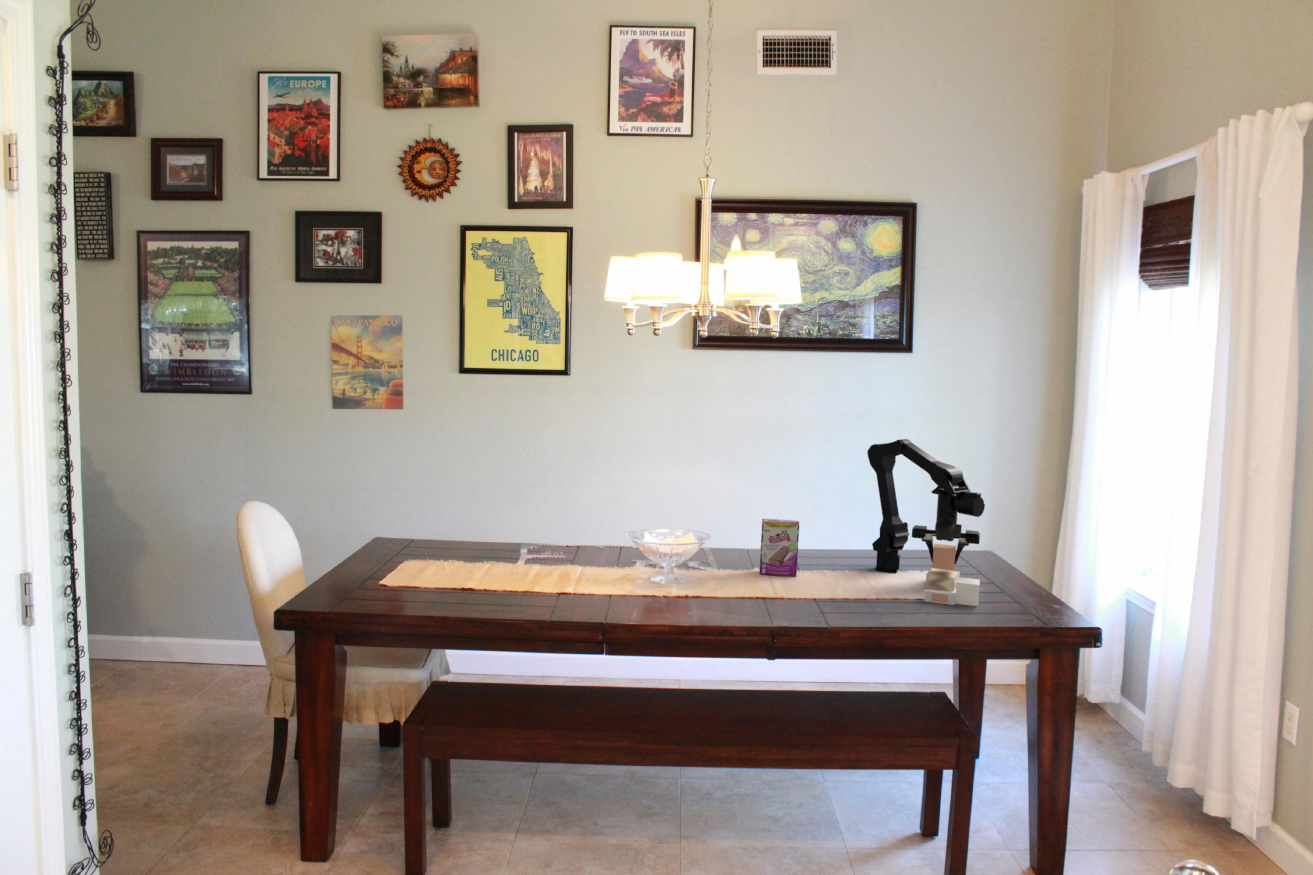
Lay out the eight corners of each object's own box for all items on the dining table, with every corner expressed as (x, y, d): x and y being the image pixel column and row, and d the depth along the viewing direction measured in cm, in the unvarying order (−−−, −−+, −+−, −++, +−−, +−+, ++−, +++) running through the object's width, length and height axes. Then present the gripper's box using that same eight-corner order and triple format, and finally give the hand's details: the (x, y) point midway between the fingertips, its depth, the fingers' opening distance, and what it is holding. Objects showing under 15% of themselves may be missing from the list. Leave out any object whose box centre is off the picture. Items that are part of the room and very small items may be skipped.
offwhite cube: (954, 603, 247) (956, 582, 247) (955, 597, 253) (956, 576, 252) (978, 606, 245) (979, 584, 245) (978, 600, 251) (979, 579, 250)
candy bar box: (759, 575, 271) (761, 521, 269) (759, 570, 276) (761, 518, 274) (797, 577, 270) (799, 523, 268) (796, 572, 275) (798, 519, 273)
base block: (925, 587, 264) (926, 573, 263) (931, 580, 271) (932, 567, 270) (953, 591, 260) (954, 577, 260) (958, 585, 267) (959, 571, 267)
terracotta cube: (932, 568, 263) (933, 547, 262) (933, 563, 269) (934, 543, 268) (954, 570, 261) (955, 550, 260) (954, 565, 267) (955, 545, 266)
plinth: (924, 601, 248) (924, 590, 248) (924, 599, 250) (925, 589, 249) (954, 605, 245) (955, 594, 245) (954, 603, 247) (955, 592, 247)
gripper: (912, 512, 259) (908, 566, 260) (981, 519, 252) (977, 573, 254) (914, 506, 269) (911, 557, 271) (981, 511, 263) (977, 564, 265)
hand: (943, 563), depth 265 cm, fingers closed on terracotta cube, 6 cm apart
